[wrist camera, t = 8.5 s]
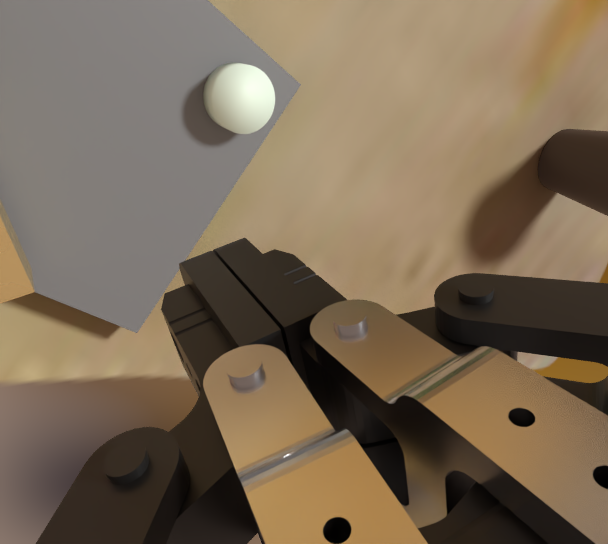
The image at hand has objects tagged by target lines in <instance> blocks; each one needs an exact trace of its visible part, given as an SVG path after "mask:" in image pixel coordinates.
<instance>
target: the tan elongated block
mask: <svg viewBox="0 0 608 544" xmlns="http://www.w3.org/2000/svg"><path fill="white" fill-rule="evenodd" d="M33 292H35V290H34V283H33V276H32V269H31V266H30V264H29V262H28V259H27V257H26V255H25V253H24V250H23V248H22V246H21V244H20V242H19V239H18V237H17V235H16V233H15V231H14V228H13V226H12V224H11V222H10V219H9V217H8V215H7V213H6V211H5V208H4V206H3V204H2V202H1V200H0V303H3V302H6V301H9V300H12V299H15V298H18V297H21V296H24V295H27V294H30V293H33Z"/></svg>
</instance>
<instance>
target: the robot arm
mask: <svg viewBox="0 0 608 544" xmlns="http://www.w3.org/2000/svg"><path fill="white" fill-rule="evenodd" d="M179 268H180V271H181V275H182V278H183V280H184V283H185V286H183V287H180V288H178V289H175V290H173V291H170V292H168V293H165V295H164V299H163V304H162V308H161V310H162V312H163V315H164V318H165V320H166V323H167V325H168V328H169V331H170V333H171V336H172V338H173V341H174V344H175V346H176V349H177V351H178V354H179V357H180V359H181V362H182V364H183V367H184V368H185V370H186V372H187V374H188V376H189V378H190V380H191V382H192V384H193V386H194V388H195V390H196V392H197V393H198V396H199V398H198V401H197V403H196V405H195V406H194V408H193V409H192V411H191V412H190V413H189V414H188V415H187V417H186V418H185V419H184V420H183V421H181V422H180V423H179V424H178V425H177V426H175V427H174V428H173V429H172V430H171V431H169V432H167V431H165V430H163V429H159V428H154V427H143V428H137V429H133V430H130V431H126V432H124V433H122V434H119V435H117V436H116V437H114V438H112V439H110V440H109V441H107V442H106V443H105V444H103V445H102V446H101V447H100V448H99V449H97V450H96V451H95V452H94V453H93V455H92V456H91V457H90V458H89V459H88V461H87V462H86V463H85V465H84V467H83V468H82V470H81V471H80V473H79V475H78V476H77V478H76V479H75V481H74V483H73V484H72V486H71V488H70V489H69V491H68V492H67V494H66V496H65V497H64V499H63V501H62V502H61V504H60V505H59V507H58V509H57V510H56V512H55V513H54V515H53V517H52V518H51V520H50V522H49V523H48V525H47V526H46V528H45V530H44V531H43V533H42V534H41V536H40V538H39V540H38V541H37V543H36V544H247V543H248V542H249V541H250V540H251V539H252V538H253V537H254V536H255V535H256V534H257V533H258V535H259V538H260V540H261V543H262V544H608V376H607V377H606V378H605V379H604V380H602V381H600V382H596V383H582V382H576V381H569V380H563V379H556V378H549V377H543V376H541V375H539V374H537V373H536V372H534V371H532V370H531V369H529V368H527V367H526V366H524V365H522V364H521V363H519V362H517V351H518V352H525V353H532V354H539V355H547V356H554V357H561V358H569V359H577V360H583V361H591V362H597V363H600V364H603V365H606V366H608V284H606V283H594V282H581V281H569V280H557V279H544V278H532V277H519V276H507V275H494V274H481V273H472V274H463V275H459V276H455V277H452V278H450V279H448V280H446V281H444V282H443V283H442V284H440V285H439V286H438V288H437V289H436V291H435V294H434V300H435V307H431V308H427V309H422V310H418V311H413V312H409V313H404V314H398V315H395V314H393V313H392V312H390V311H389V310H387V309H386V308H384V307H383V306H381V305H379V304H377V303H375V302H372V301H367V300H347V299H346V298H344V297H343V296H342V295H341V294H340V293H339V292H337V291H336V290H335V289H334V288H333V287H331V286H330V285H329V284H328V283H327V282H325V281H324V280H323V279H322V278H321V277H319V276H318V275H317V276H316V274H315V272H314V271H312V270H311V269H310V268H309V267H306V265H305V264H304V263H303V262H302V261H300V260H299V259H298V258H297V257H296V256H295V255H293V254H289V253H286V252H282V251H279V250H275V249H274V250H272V251H269V252H267V253H264V254H262V253H261V252H260V251H259V250H258V249H257V248H256V247H255V246H253V245H252V244H251V243H250V242H249V241H248V240H247V239H246V238H243V239H240V240H237V241H235V242H232V243H230V244H227V245H224V246H222V247H219V248H217V249H214V250H213V252H212V251H209V252H207V253H204V254H202V255H199V256H196V257H194V258H191V259H189V260H186V261H183V262H181V263H179Z"/></svg>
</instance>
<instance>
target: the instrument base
mask: <svg viewBox="0 0 608 544" xmlns="http://www.w3.org/2000/svg"><path fill="white" fill-rule="evenodd" d="M300 85H301V84H300V83H298V82H297V81H296V80H295V79H294V78H293V77H292V76H291V75H290V74H288V73H287V72H286V71H285V70H284V69H283V68H282V67H281V66H280V65H279V64H277V63H276V62H275V61H274V60H273V59H272V58H271V57H270V56H269V55H267V54H266V53H265V52H264V51H263V50H262V49H261V48H260V47H259V46H258V45H256V44H255V43H254V42H253V41H252V40H251V39H250V38H249V37H248V36H246V35H245V34H244V33H243V32H242V31H241V30H240V29H239V28H238V27H237V26H235V25H234V24H233V23H232V22H231V21H230V20H229V19H228V18H227V17H225V16H224V15H223V14H222V13H221V12H220V11H219V10H218V9H217V8H216V7H214V6H213V5H212V4H211V3H210V2H209V1H208V0H0V200H1V202H2V204H3V206H4V208H5V211H6V213H7V215H8V217H9V219H10V222H11V224H12V226H13V228H14V231H15V233H16V235H17V237H18V239H19V242H20V244H21V246H22V248H23V250H24V253H25V255H26V257H27V259H28V262H29V264H30V266H31V269H32V276H33V283H34V290H35V292H36V293H38V294H41V295H43V296H46V297H48V298H51V299H53V300H56V301H58V302H61V303H63V304H66V305H68V306H71V307H73V308H76V309H78V310H81V311H83V312H86V313H88V314H91V315H93V316H96V317H98V318H101V319H103V320H106V321H108V322H111V323H113V324H116V325H118V326H121V327H123V328H126V329H128V330H131V331H133V332H136V333H137V332H138V331H139V329H140V328H141V326H142V325H143V323H144V322H145V320H146V319H147V317H148V316H149V314H150V313H151V311H152V310H153V308H154V307H155V305H156V304H157V302H158V301H159V299H160V298H161V296H162V294H163V293H164V291H165V290H166V288H167V287H168V285H169V284H170V282H171V281H172V279H173V278H174V276H175V275H176V273H177V272H178V270H179V269H180V268H179V263H181V262H183V261H185V260H186V258H187V257H188V255H189V254H190V252H191V251H192V249H193V247H194V246H195V244H196V243H197V241H198V240H199V238H200V237H201V235H202V234H203V232H204V231H205V229H206V228H207V226H208V225H209V223H210V222H211V220H212V219H213V217H214V216H215V214H216V213H217V211H218V210H219V208H220V207H221V205H222V204H223V202H224V200H225V199H226V197H227V196H228V194H229V193H230V191H231V190H232V188H233V187H234V185H235V184H236V182H237V181H238V179H239V178H240V176H241V175H242V173H243V172H244V170H245V169H246V167H247V166H248V164H249V163H250V161H251V160H252V158H253V157H254V155H255V153H256V152H257V150H258V149H259V147H260V146H261V144H262V143H263V141H264V140H265V138H266V137H267V135H268V134H269V132H270V131H271V129H272V128H273V126H274V125H275V123H276V122H277V120H278V119H279V117H280V116H281V114H282V113H283V111H284V110H285V108H286V106H287V105H288V103H289V102H290V100H291V99H292V97H293V96H294V94H295V93H296V91H297V90H298V88H299V87H300Z"/></svg>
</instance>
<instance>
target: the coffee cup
mask: <svg viewBox="0 0 608 544" xmlns="http://www.w3.org/2000/svg"><path fill="white" fill-rule="evenodd" d="M538 176H539V179H540V182H541V183H542V184H543V185H544V186H545V187H546V188H548V189H550V190H553V191H555V192H557V193H559V194H561V195H564V196H566V197H568V198H570V199H572V200H574V201H577V202H579V203H581V204H583V205H585V206H587V207H590V208H592V209H594V210H596V211H598V212H600V213H603V214H605V215H607V216H608V131H592V130H576V129H566V130H561V131H560V132H558V133H556V134H555V135H554V136H553V137H552V138H551V139H550V140H549V141H548V143H547V144H546V146H545V147H544V149H543V151H542V154H541V156H540V160H539V165H538Z"/></svg>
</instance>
